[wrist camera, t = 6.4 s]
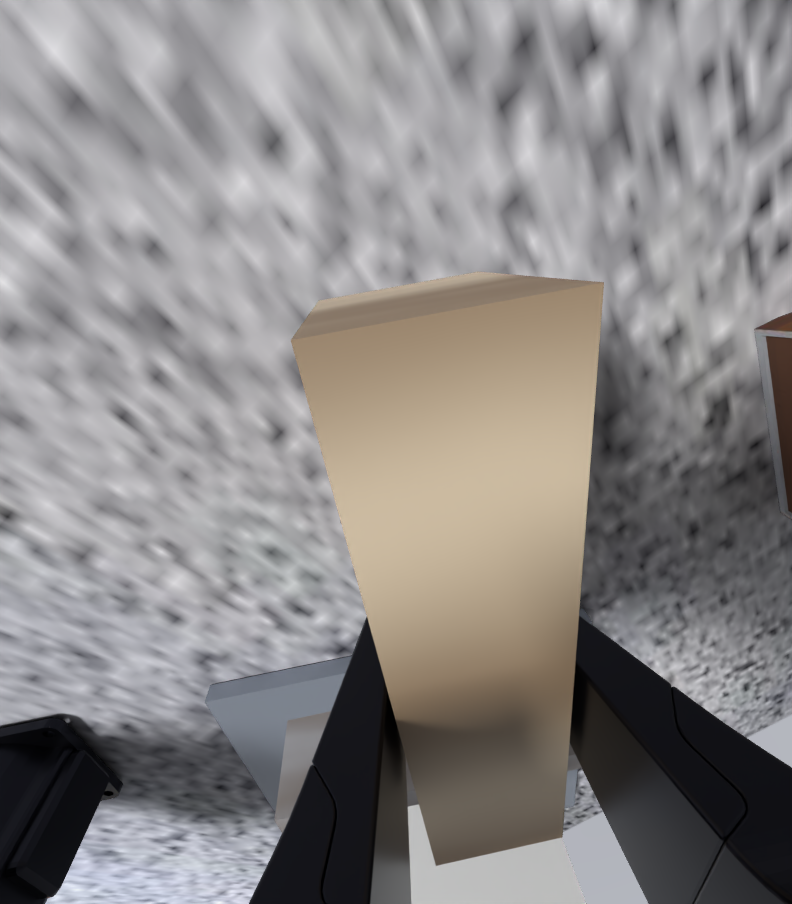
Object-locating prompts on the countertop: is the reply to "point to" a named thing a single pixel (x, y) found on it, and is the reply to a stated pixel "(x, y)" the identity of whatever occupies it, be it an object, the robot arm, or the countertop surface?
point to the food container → (778, 399)
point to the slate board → (286, 715)
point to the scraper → (462, 534)
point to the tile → (491, 873)
